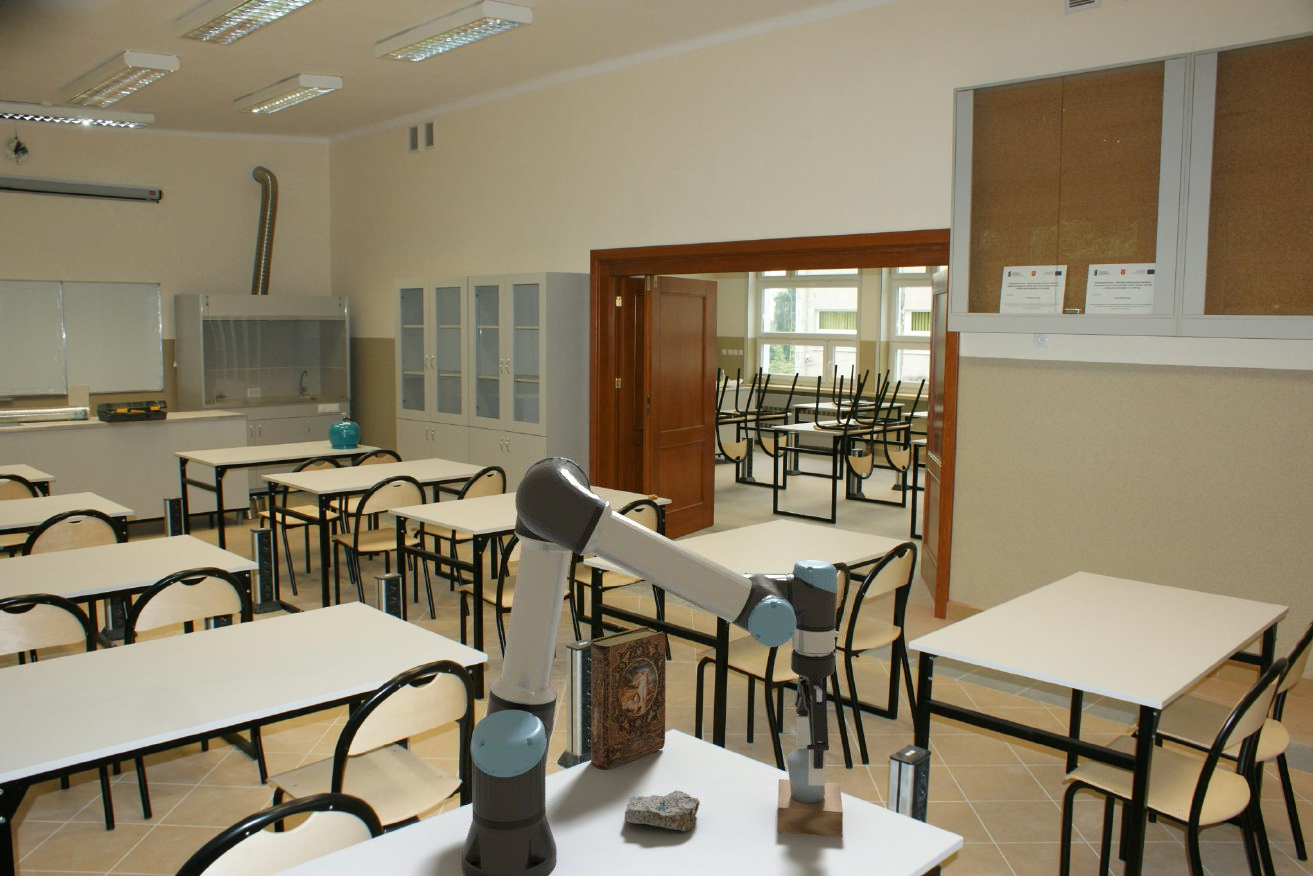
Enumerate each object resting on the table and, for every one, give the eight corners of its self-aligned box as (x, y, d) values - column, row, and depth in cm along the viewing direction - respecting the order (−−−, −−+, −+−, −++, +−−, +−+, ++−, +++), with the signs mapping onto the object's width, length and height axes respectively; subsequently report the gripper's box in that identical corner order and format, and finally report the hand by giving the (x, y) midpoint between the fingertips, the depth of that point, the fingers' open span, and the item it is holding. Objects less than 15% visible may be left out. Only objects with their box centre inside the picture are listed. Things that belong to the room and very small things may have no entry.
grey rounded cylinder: (797, 806, 168) (793, 771, 166) (786, 787, 173) (782, 752, 172) (830, 799, 168) (826, 763, 167) (818, 780, 174) (815, 745, 173)
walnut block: (777, 835, 167) (777, 807, 167) (778, 805, 178) (778, 779, 178) (842, 840, 166) (842, 812, 165) (838, 809, 177) (839, 783, 176)
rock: (620, 832, 166) (620, 804, 166) (631, 808, 176) (630, 781, 175) (695, 837, 164) (694, 808, 164) (701, 812, 174) (701, 785, 173)
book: (604, 771, 191) (604, 647, 188) (586, 762, 195) (586, 641, 192) (665, 748, 202) (666, 631, 200) (647, 740, 206) (648, 625, 204)
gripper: (849, 674, 156) (845, 800, 159) (821, 629, 181) (818, 738, 183) (803, 674, 156) (799, 800, 158) (781, 628, 181) (778, 738, 183)
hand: (809, 767), depth 171 cm, fingers open, 13 cm apart
